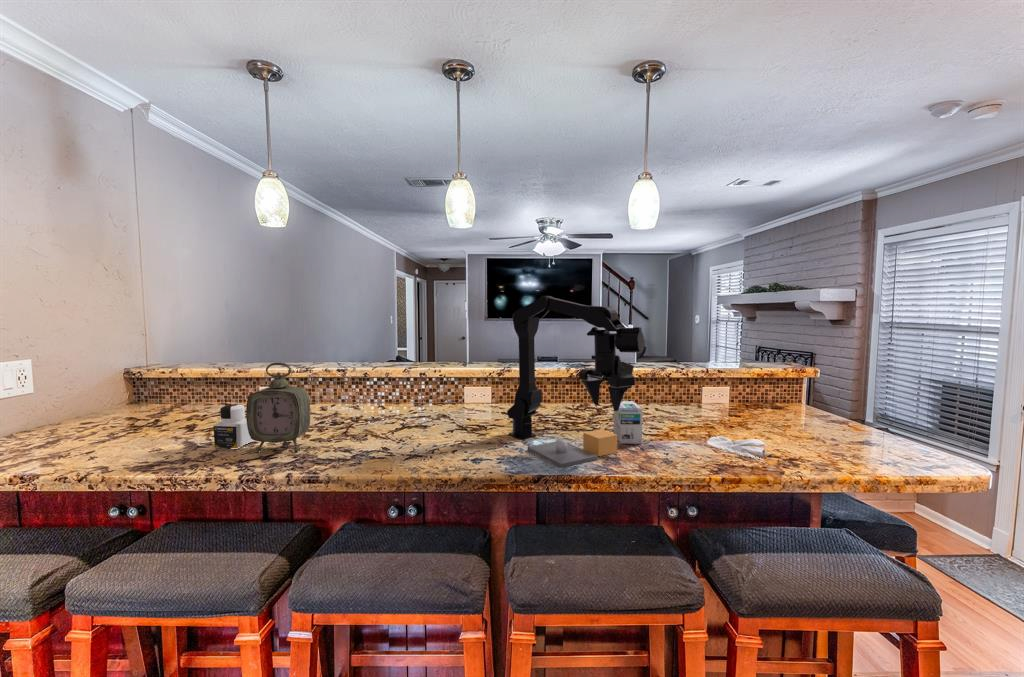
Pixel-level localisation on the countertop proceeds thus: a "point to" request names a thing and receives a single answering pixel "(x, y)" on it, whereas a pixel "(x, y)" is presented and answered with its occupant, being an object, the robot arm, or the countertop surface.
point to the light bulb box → (628, 423)
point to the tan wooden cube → (600, 442)
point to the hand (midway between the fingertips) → (606, 407)
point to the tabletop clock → (278, 412)
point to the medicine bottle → (231, 428)
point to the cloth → (740, 446)
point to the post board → (562, 453)
